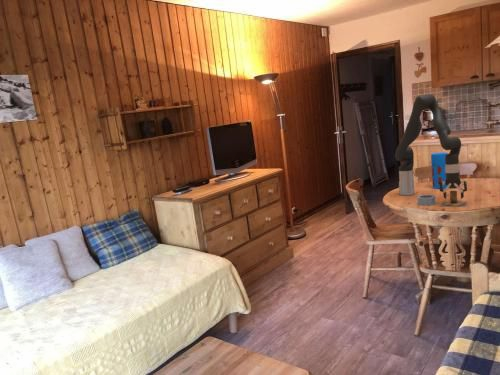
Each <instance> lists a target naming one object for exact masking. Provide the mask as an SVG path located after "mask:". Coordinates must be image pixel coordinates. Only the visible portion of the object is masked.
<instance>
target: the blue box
mask: <svg viewBox="0 0 500 375" xmlns="http://www.w3.org/2000/svg"><path fill="white" fill-rule="evenodd" d="M447 154H449V153H448V152H433V153H431V154H430V162H431V164H430V166H431V180H432V181H431V183H432V189H434V190H440V182H441V181H443V182H445V181H446V175H445V156H446V155H447ZM446 187H447V185H446V184H445V183H444V185H443V190H445V188H446Z"/></svg>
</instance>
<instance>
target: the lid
mask: <svg viewBox="0 0 500 375" xmlns="http://www.w3.org/2000/svg"><path fill="white" fill-rule="evenodd" d="M457 193H458V192H457V190H449V200H445V201H446V202H444V201H443V202H444V205H446V206H461V205H464V202H465V201H462V200H458V194H457Z"/></svg>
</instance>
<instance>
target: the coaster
mask: <svg viewBox="0 0 500 375" xmlns="http://www.w3.org/2000/svg"><path fill="white" fill-rule="evenodd" d="M446 201H447V200H444V201H442V203H441V204H440V206H439V207H444V208H445V207H449V208H450V207H451V208H454V207H455V208H457V207H458V208H462V207H463V208H465V207H466V206H467V204H468V201H463V202H464V205H461V206H446V205H444V202H446Z"/></svg>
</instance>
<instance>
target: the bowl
mask: <svg viewBox="0 0 500 375" xmlns="http://www.w3.org/2000/svg"><path fill="white" fill-rule="evenodd" d="M416 197H417V198H416V201H417V205H418V206H422V207H423V206H424V207H425V206H434V205H436V204H437V200H436V198H437V197H436V195H434V194H421V195H418V196H416Z"/></svg>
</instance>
